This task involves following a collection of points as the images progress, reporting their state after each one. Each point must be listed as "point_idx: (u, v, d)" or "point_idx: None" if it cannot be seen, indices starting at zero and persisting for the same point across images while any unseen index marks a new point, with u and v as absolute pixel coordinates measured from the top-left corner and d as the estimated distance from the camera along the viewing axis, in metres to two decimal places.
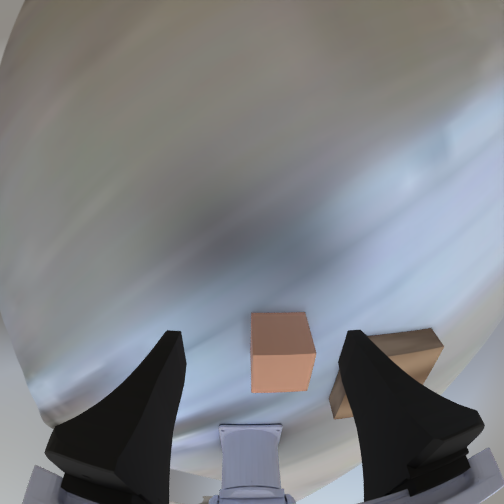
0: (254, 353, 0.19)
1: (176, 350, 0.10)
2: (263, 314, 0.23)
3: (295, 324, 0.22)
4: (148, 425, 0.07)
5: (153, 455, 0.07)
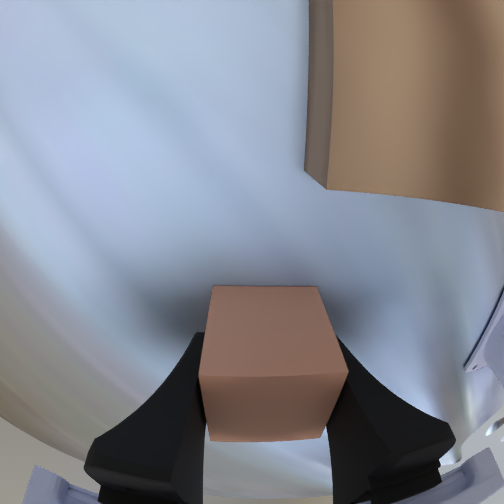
0: (210, 437, 0.10)
1: None
2: None
3: None
4: (191, 430, 0.07)
5: (194, 460, 0.07)
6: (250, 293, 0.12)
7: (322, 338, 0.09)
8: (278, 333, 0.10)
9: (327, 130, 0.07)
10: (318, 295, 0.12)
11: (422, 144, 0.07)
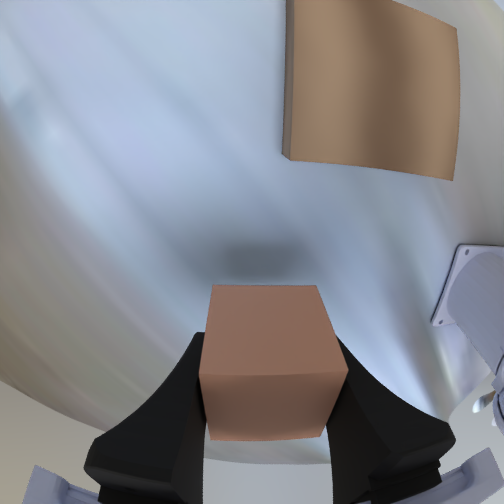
0: (210, 436, 0.10)
1: None
2: None
3: None
4: (191, 430, 0.07)
5: (193, 460, 0.07)
6: (250, 292, 0.12)
7: (322, 337, 0.09)
8: (278, 332, 0.10)
9: (290, 127, 0.13)
10: (317, 294, 0.12)
11: (350, 132, 0.12)
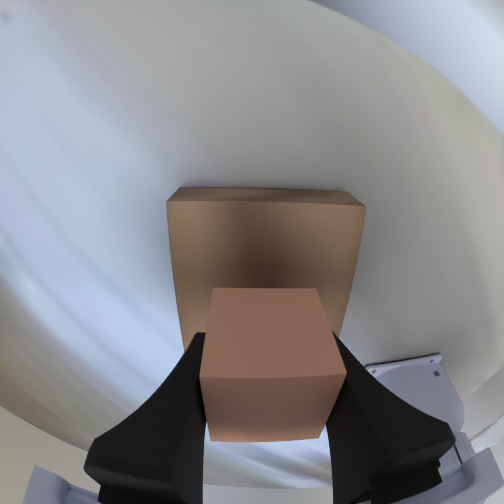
0: (210, 437, 0.10)
1: None
2: None
3: None
4: (191, 430, 0.07)
5: (193, 460, 0.07)
6: (249, 295, 0.12)
7: (321, 340, 0.09)
8: (277, 335, 0.10)
9: (182, 331, 0.17)
10: (317, 297, 0.12)
11: None
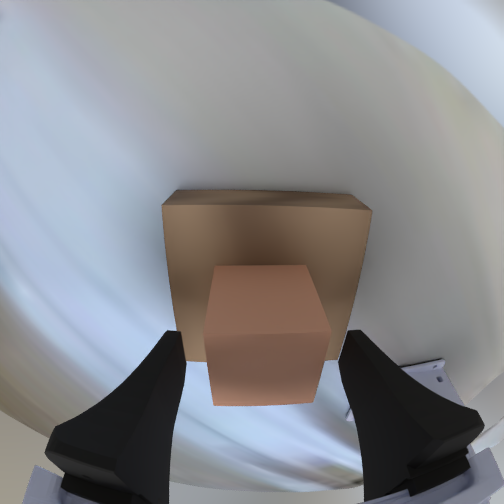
0: (213, 401, 0.12)
1: (176, 350, 0.10)
2: None
3: None
4: (148, 425, 0.07)
5: (153, 455, 0.07)
6: (247, 270, 0.14)
7: (309, 305, 0.11)
8: (271, 301, 0.11)
9: None
10: (307, 272, 0.13)
11: None
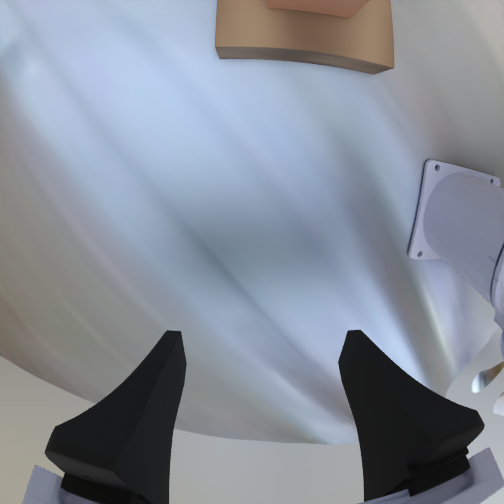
0: None
1: (176, 350, 0.10)
2: None
3: None
4: (148, 425, 0.07)
5: (153, 455, 0.07)
6: None
7: None
8: None
9: (216, 23, 0.11)
10: None
11: (271, 21, 0.11)
